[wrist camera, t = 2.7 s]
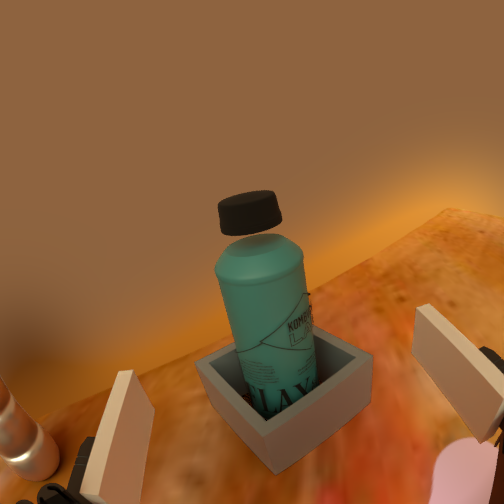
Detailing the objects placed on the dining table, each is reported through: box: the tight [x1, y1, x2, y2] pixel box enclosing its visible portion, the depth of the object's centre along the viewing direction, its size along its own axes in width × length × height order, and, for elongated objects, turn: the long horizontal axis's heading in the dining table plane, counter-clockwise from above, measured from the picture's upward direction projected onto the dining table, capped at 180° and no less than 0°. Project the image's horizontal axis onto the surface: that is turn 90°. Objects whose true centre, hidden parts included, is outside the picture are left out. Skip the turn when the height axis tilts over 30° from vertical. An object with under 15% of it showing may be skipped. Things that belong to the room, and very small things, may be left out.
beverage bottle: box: [215, 190, 320, 420], centre depth 24 cm, size 6×7×20 cm
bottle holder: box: [194, 324, 373, 475], centre depth 26 cm, size 11×11×6 cm
